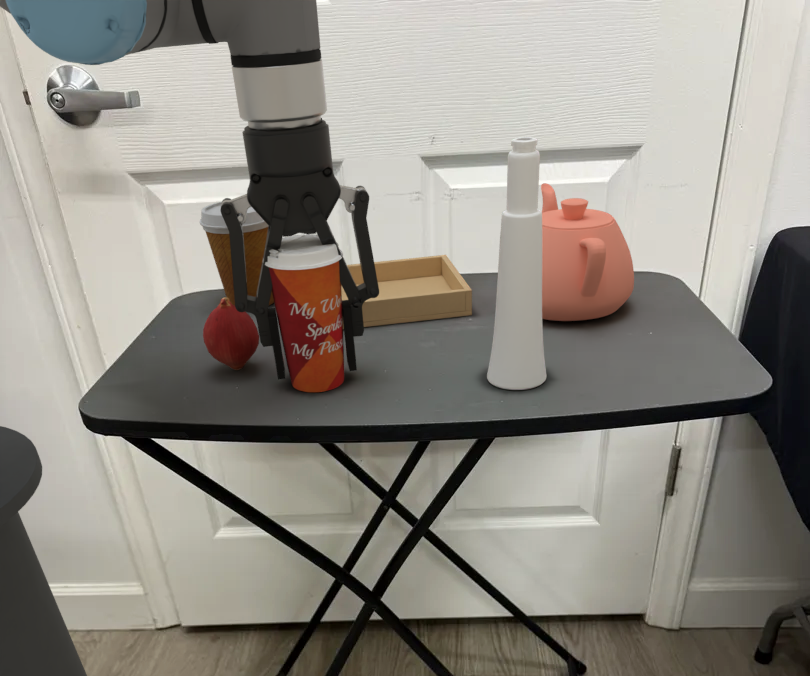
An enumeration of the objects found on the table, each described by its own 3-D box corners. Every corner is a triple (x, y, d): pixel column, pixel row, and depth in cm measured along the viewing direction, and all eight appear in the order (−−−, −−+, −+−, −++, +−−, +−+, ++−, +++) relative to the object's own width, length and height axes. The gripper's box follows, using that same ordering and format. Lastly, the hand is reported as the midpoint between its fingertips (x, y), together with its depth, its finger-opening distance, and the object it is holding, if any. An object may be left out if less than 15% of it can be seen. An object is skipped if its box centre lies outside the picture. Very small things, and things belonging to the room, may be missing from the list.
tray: (312, 332, 93) (309, 307, 91) (305, 292, 105) (302, 269, 103) (472, 315, 94) (472, 289, 93) (446, 277, 107) (446, 254, 105)
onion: (201, 369, 85) (185, 297, 81) (246, 354, 88) (233, 284, 84) (227, 384, 82) (212, 310, 77) (273, 368, 84) (261, 295, 80)
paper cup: (307, 404, 77) (288, 260, 68) (267, 381, 82) (245, 244, 73) (370, 380, 81) (359, 241, 72) (328, 360, 85) (313, 228, 77)
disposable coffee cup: (264, 285, 108) (249, 194, 101) (302, 300, 102) (289, 204, 95) (203, 303, 104) (183, 208, 97) (239, 320, 98) (221, 220, 90)
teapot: (487, 283, 104) (487, 184, 97) (595, 272, 105) (604, 174, 98) (528, 343, 86) (532, 228, 79) (658, 329, 87) (674, 215, 80)
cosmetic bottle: (557, 383, 77) (573, 139, 65) (503, 395, 76) (509, 148, 63) (528, 361, 82) (537, 130, 69) (476, 373, 80) (477, 138, 68)
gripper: (390, 106, 71) (404, 346, 84) (173, 124, 69) (223, 366, 82) (402, 117, 65) (415, 373, 78) (165, 137, 63) (220, 396, 76)
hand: (316, 369), depth 80 cm, fingers closed on paper cup, 7 cm apart
